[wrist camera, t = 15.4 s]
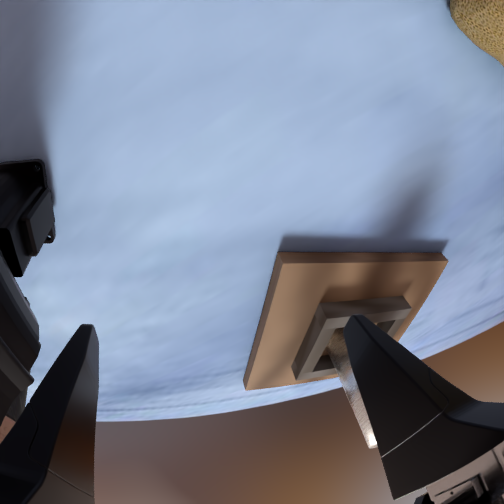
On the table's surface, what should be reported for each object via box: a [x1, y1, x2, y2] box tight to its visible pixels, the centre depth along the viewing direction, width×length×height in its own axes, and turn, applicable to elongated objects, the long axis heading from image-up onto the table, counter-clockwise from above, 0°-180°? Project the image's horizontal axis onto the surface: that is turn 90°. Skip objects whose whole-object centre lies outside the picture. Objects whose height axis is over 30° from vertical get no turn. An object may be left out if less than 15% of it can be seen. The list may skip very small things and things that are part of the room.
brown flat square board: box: [243, 252, 448, 391], centre depth 33 cm, size 20×20×4 cm
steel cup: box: [326, 327, 378, 448], centre depth 28 cm, size 6×6×13 cm
